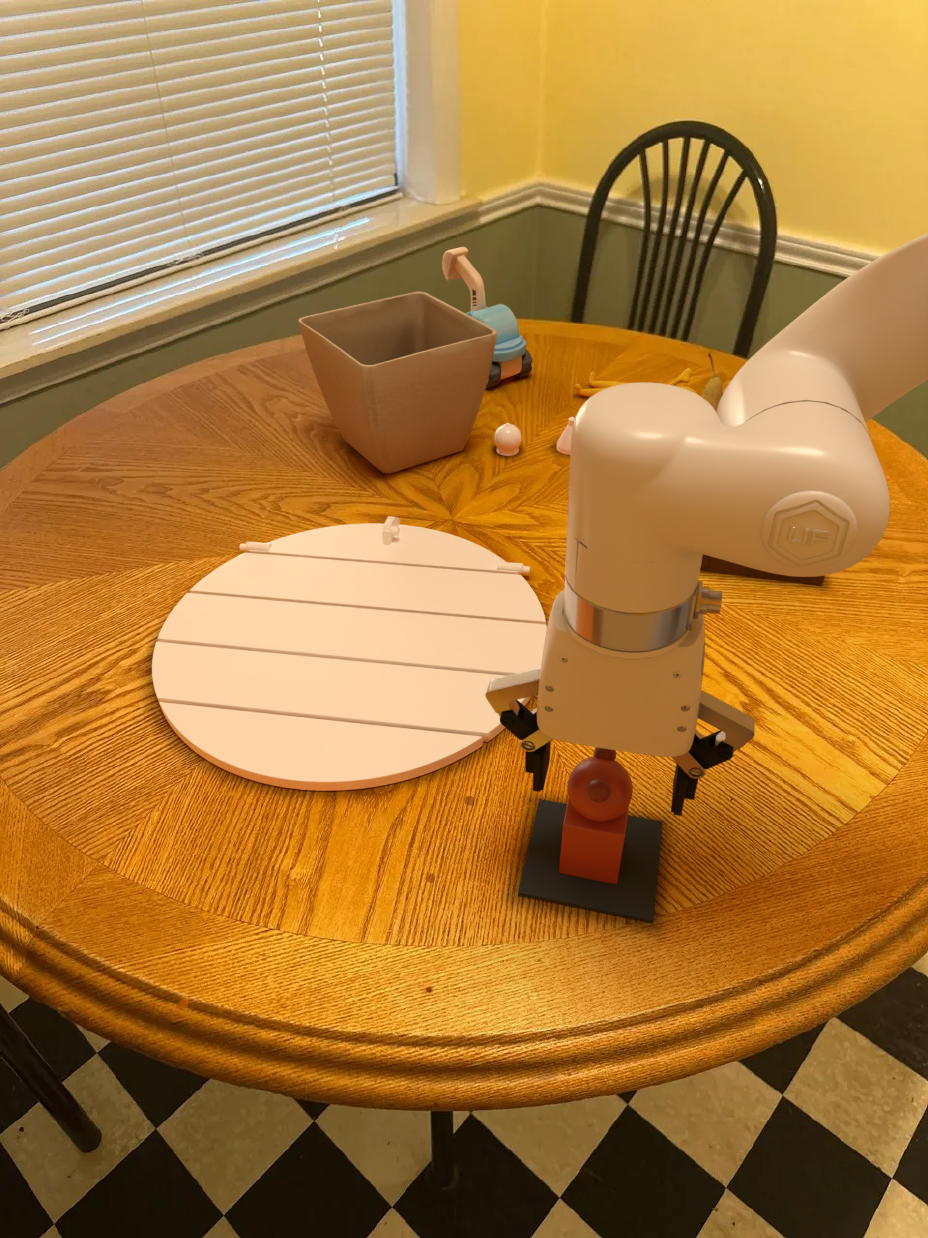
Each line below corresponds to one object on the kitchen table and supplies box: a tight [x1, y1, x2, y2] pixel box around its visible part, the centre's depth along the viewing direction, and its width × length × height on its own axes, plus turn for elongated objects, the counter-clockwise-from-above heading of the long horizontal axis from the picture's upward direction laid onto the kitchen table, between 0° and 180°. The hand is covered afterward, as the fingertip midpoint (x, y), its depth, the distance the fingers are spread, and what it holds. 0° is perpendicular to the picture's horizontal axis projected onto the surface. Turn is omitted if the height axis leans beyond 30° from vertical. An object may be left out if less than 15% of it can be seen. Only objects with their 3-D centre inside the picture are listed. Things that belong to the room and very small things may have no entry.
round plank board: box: [151, 515, 548, 792], centre depth 87 cm, size 40×39×3 cm
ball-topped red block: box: [559, 747, 634, 884], centre depth 63 cm, size 5×5×11 cm
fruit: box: [700, 353, 724, 412], centre depth 113 cm, size 6×6×12 cm
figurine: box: [574, 367, 698, 398], centre depth 126 cm, size 14×5×18 cm
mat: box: [517, 798, 663, 924], centre depth 67 cm, size 10×9×1 cm
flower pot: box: [297, 290, 497, 474], centre depth 114 cm, size 19×19×17 cm
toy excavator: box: [441, 246, 534, 389], centre depth 133 cm, size 9×17×17 cm, turn 34°
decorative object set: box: [493, 416, 575, 457], centre depth 116 cm, size 5×20×4 cm, turn 92°
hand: (608, 787), depth 61 cm, fingers open, 9 cm apart
